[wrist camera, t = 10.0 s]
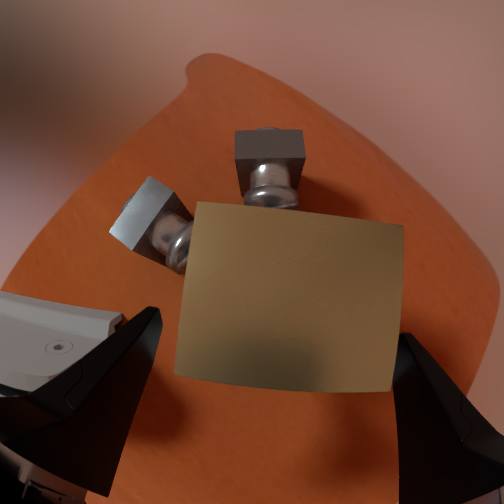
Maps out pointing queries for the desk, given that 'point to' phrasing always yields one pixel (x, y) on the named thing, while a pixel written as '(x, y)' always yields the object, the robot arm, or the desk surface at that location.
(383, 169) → the desk surface
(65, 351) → the white electronic device
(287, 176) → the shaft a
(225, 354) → the tan and grey block
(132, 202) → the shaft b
